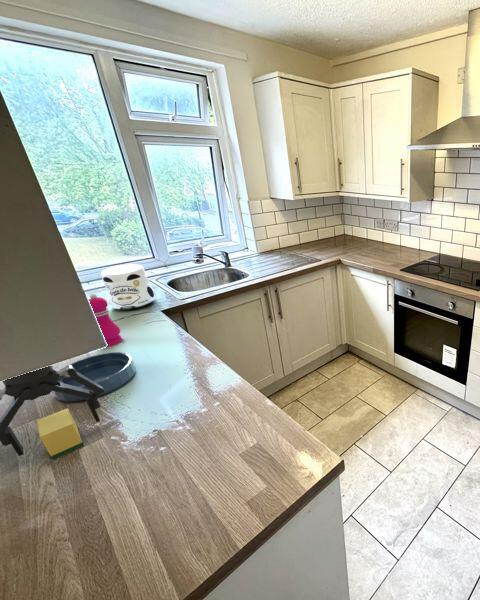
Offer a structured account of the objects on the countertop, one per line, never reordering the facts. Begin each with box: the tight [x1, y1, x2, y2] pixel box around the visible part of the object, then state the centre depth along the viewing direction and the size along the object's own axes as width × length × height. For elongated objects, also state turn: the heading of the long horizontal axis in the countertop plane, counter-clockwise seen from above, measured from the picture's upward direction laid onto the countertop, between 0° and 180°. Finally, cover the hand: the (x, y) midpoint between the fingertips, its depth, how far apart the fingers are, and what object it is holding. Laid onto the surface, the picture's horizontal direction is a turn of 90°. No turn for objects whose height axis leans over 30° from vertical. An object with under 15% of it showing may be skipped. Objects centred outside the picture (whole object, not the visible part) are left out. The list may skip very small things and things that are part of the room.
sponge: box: [36, 408, 84, 460], centre depth 79 cm, size 8×6×7 cm
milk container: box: [100, 264, 156, 311], centre depth 153 cm, size 17×17×18 cm
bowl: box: [51, 351, 136, 402], centre depth 102 cm, size 19×19×5 cm
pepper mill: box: [88, 293, 123, 347], centre depth 121 cm, size 7×7×20 cm
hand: (61, 434), depth 80 cm, fingers open, 13 cm apart
